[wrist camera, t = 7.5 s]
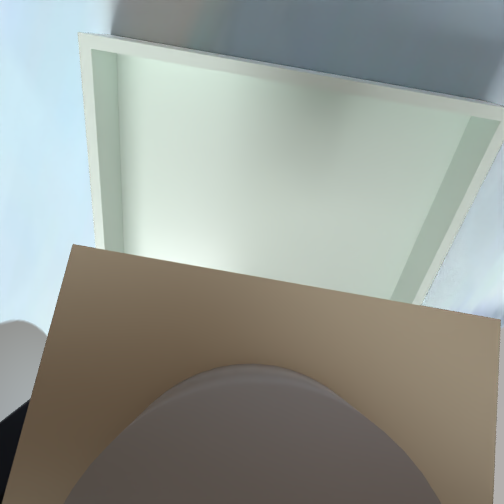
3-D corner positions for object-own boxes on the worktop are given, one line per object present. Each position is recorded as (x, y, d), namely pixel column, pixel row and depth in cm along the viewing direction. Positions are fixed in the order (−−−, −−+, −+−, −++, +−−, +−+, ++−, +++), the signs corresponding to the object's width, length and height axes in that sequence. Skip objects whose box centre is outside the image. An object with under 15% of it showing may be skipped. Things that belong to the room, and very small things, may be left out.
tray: (374, 343, 25) (384, 377, 22) (121, 298, 25) (102, 328, 22) (483, 100, 17) (519, 110, 14) (109, 34, 17) (77, 32, 14)
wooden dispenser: (304, 471, 15) (612, 1205, 3) (154, 444, 15) (-257, 1055, 3) (325, 317, 16) (603, 320, 4) (185, 293, 16) (7, 216, 4)
